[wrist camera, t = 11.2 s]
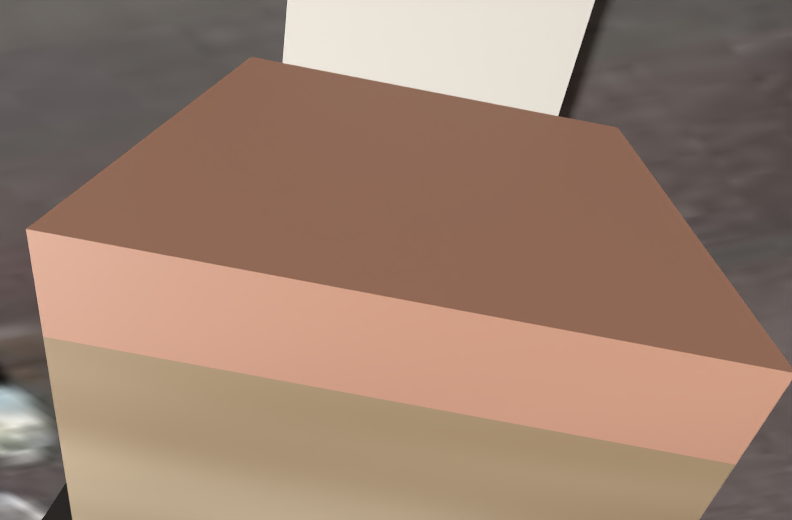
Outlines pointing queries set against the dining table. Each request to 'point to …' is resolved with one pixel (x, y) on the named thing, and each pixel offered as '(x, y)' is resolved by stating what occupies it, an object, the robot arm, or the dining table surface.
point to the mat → (445, 45)
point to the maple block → (389, 317)
